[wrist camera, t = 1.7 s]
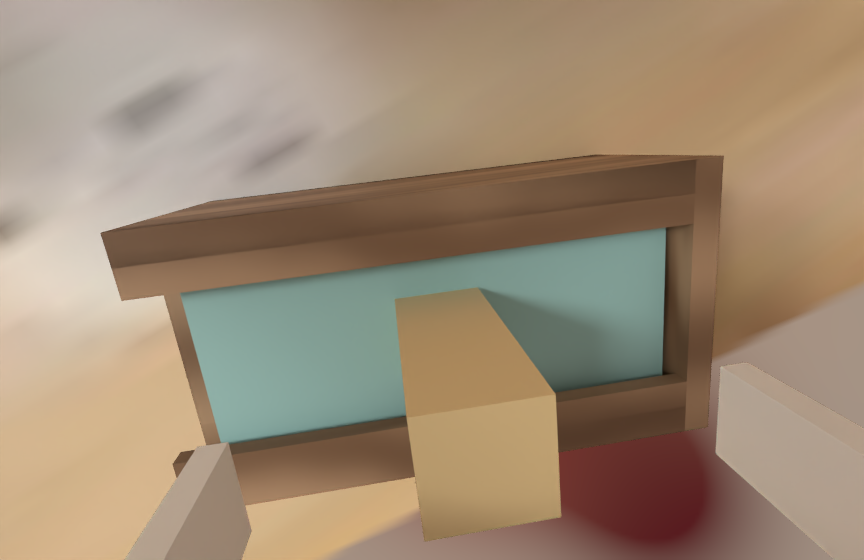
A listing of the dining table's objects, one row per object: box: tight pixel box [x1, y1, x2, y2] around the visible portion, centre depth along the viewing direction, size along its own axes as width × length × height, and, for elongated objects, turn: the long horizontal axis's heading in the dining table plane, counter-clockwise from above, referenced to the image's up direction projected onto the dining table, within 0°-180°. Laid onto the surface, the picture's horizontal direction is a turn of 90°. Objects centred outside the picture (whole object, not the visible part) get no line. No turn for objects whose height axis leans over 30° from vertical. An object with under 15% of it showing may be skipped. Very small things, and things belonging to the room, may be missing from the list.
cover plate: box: [180, 228, 666, 541], centre depth 16 cm, size 9×20×11 cm, turn 97°
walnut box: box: [101, 155, 724, 505], centre depth 24 cm, size 12×23×11 cm, turn 97°
